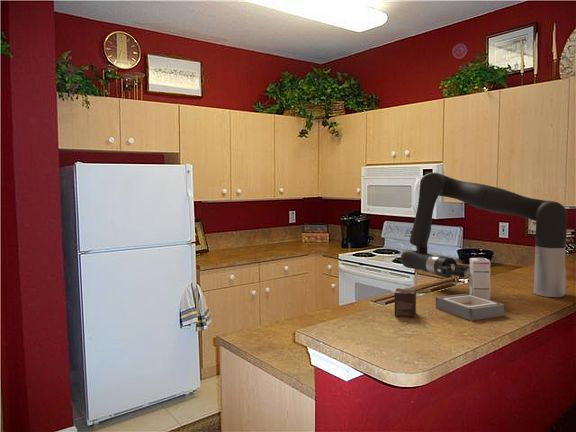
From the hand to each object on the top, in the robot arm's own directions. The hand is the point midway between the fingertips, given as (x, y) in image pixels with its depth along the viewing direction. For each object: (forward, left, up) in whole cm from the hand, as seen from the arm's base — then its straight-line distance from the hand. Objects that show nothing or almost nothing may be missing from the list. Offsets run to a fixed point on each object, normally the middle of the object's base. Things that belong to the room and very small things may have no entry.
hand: (473, 273), depth 153 cm
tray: (+12, +11, -9) cm, 19 cm away
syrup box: (0, +3, -9) cm, 10 cm away
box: (+32, +6, -9) cm, 34 cm away
